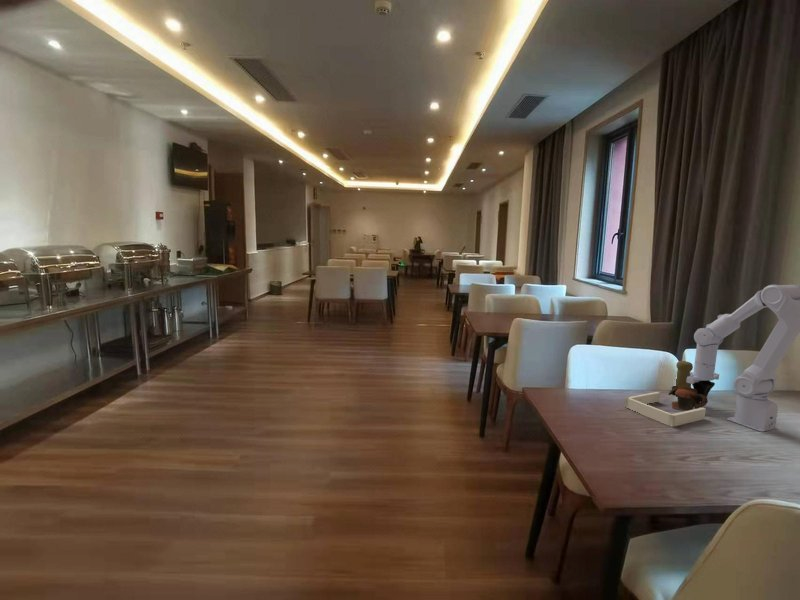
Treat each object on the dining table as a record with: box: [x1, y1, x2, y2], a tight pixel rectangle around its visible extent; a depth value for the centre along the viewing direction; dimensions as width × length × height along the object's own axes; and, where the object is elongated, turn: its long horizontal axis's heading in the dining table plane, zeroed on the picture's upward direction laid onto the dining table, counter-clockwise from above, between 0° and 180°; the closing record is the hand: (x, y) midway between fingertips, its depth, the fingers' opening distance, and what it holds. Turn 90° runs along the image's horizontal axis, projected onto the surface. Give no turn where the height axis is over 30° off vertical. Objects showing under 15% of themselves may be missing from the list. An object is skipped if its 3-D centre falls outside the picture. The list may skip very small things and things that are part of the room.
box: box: [624, 391, 707, 428], centre depth 136 cm, size 16×16×4 cm
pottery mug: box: [668, 385, 709, 411], centre depth 141 cm, size 12×10×8 cm
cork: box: [676, 360, 694, 388], centre depth 159 cm, size 6×6×11 cm
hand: (700, 401), depth 144 cm, fingers closed
